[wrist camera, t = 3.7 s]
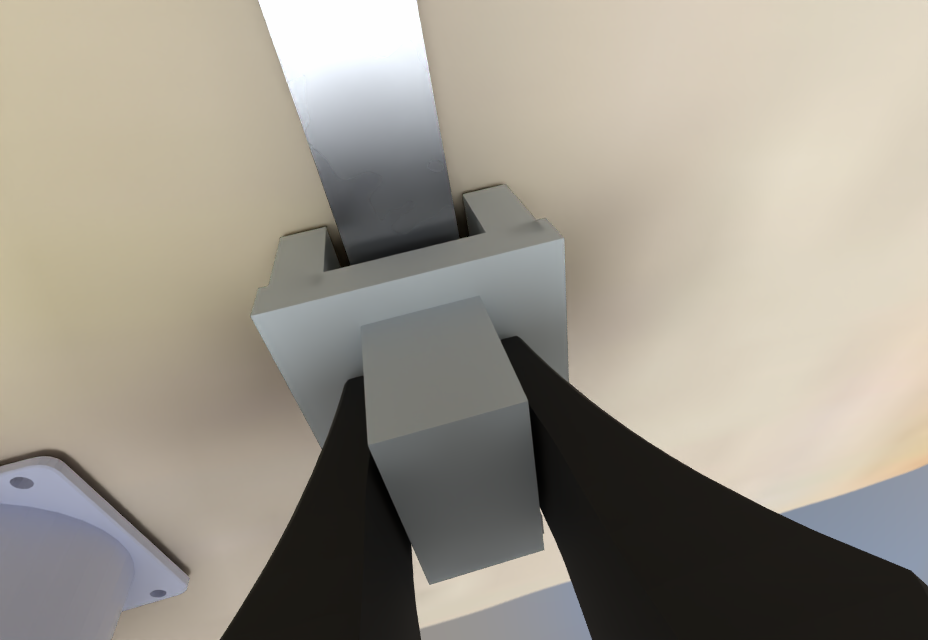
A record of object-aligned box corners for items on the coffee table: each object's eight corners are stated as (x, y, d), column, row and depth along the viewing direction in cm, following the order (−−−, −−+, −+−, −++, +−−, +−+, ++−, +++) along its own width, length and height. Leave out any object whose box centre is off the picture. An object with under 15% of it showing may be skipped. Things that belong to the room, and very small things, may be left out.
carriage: (348, 410, 15) (352, 628, 10) (272, 239, 11) (214, 444, 6) (530, 360, 15) (625, 544, 10) (513, 182, 12) (646, 327, 7)
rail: (409, 477, 17) (423, 570, 15) (148, -209, 7) (20, -345, 4) (511, 448, 18) (543, 533, 15) (406, -250, 7) (445, -402, 5)
